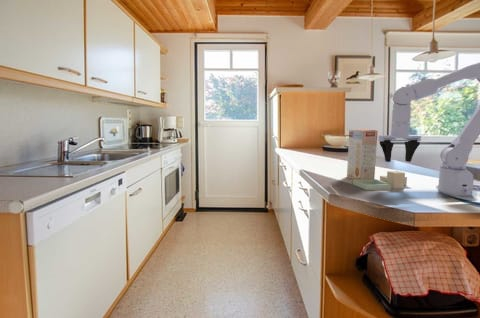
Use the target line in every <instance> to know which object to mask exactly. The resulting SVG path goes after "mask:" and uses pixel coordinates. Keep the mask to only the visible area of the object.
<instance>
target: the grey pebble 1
mask: <svg viewBox="0 0 480 318" xmlns="http://www.w3.org/2000/svg"><path fill="white" fill-rule="evenodd" d="M379 180H380V181H383V182H386V183H387V175H380V176H379Z"/></svg>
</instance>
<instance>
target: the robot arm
mask: <svg viewBox="0 0 480 318" xmlns="http://www.w3.org/2000/svg"><path fill="white" fill-rule="evenodd" d="M464 80H470V81H475V80H477V81H478V82H479V83H480V62H477V63H472V64H470V65H467V66H464V67H462V68H460V69H457V70H454V71H452V72H450V73H448V74H444V75H443V76H440V77H438V78H432V77H425V76H424V77H422V78H420V81H419V80H418V81H417V82H413V83H412V84H410V83H408V84H405V86H401V87H400V88H398V89H397V90H395V91H394V93H393V96H392V101H393V105H392V108H393V109H392V112H391V113H392V114H391V126H390V128H391V130H390V135H389V134H387V135H378V139H377V142H379V145H380V148H381V150H382V153H383V155H384V161H385V162H387V163H391V160H392V151H393V147H394V142H404V146H405V148H404V149H405V157H404V158H405V162H408V163H411V162H412V159H413V157H414V155H415V152H416V150H417V149H418V147H419V146H420V145H421V143H420V142H421V140H422V136H421V135H412V134H411V135H410V130H411V129H410V128H411V113H412V109H411V102H412V101H414V102H415V101H418V100H421V99H424V98H426V97H429V96H433V95H434V94H436V93H437V92H438V89H439V88H443V87H445V86H447V85H451V84H454V83H457V82H459V81H464ZM479 137H480V104H478V106H477V108H476V109H475V110H474V112H473V114H472V115H471V116H470V118H469V119H468V120H467V122H466V124H465V125H464V126H463V128H462V129H461V130H460V133H459V134H458V135H457V136H456V138H455V139H454V140H452V141H451V142H450V144H449V145H448V146H447V147H444V148H443V149H442V150H441V152H440V159H441V161H442V163H441V164H440V165H439V173H438V174H439V175H438V187H437V191H439V192H440V193H444V194H450V195H452V196H473V189H474V175H473V173H472V172H471V171H469V170H468V169H467V166H466V165H467V164H468V161H469V156H470V154H471V152H472V150H473V147H474V144H475V142H476V141H477V140H478V139H479Z"/></svg>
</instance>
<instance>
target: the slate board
mask: <svg viewBox="0 0 480 318" xmlns="http://www.w3.org/2000/svg"><path fill="white" fill-rule="evenodd" d="M403 189H404V190H406V189H407V190H409V189H410V190H411V187H410V186H407V185H404V188H401V189H400V190H403ZM391 190H394V189H393V188H391Z"/></svg>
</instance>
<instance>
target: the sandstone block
mask: <svg viewBox="0 0 480 318" xmlns="http://www.w3.org/2000/svg"><path fill="white" fill-rule="evenodd" d="M386 176H387V183H388V184H391V188H393V189H392V190H395V189H396V190H398V189H399V190H402V189H401V188H404V186H405V185H404V180H405V177H406V172H402V171H398V170H389V171H387V173H386Z"/></svg>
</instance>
